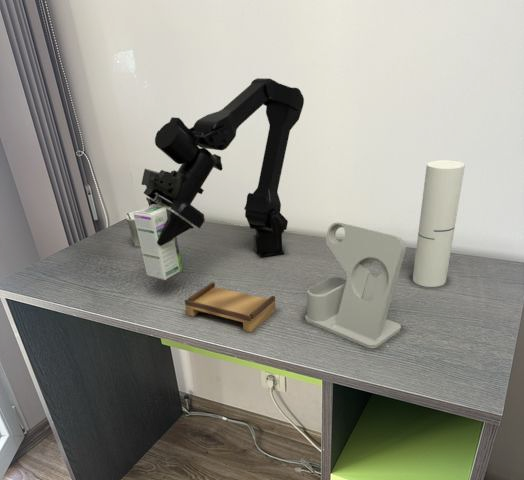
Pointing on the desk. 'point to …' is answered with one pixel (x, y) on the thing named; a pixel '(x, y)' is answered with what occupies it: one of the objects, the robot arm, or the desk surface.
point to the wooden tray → (231, 306)
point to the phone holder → (358, 287)
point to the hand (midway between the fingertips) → (152, 239)
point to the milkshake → (133, 228)
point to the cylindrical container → (437, 221)
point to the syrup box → (155, 256)
